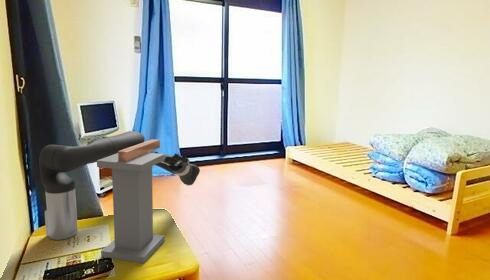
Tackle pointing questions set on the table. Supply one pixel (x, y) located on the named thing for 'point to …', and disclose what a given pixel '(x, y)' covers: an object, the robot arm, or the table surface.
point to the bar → (138, 150)
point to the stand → (132, 208)
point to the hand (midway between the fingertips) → (165, 154)
